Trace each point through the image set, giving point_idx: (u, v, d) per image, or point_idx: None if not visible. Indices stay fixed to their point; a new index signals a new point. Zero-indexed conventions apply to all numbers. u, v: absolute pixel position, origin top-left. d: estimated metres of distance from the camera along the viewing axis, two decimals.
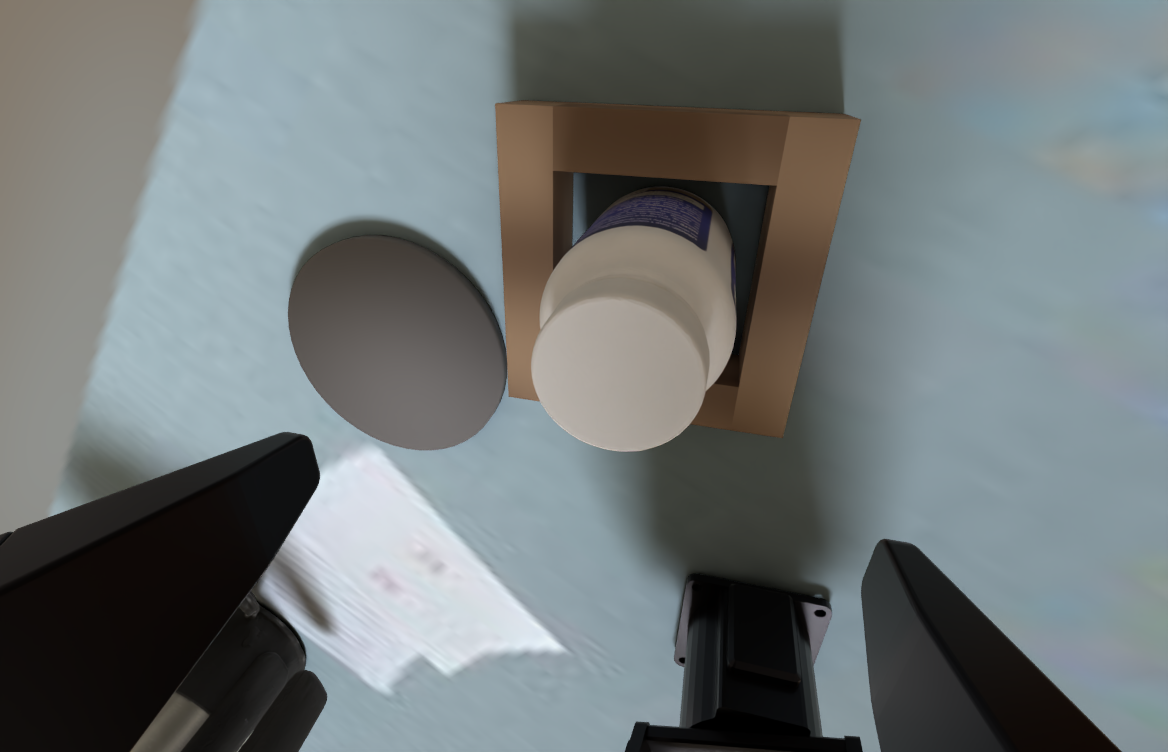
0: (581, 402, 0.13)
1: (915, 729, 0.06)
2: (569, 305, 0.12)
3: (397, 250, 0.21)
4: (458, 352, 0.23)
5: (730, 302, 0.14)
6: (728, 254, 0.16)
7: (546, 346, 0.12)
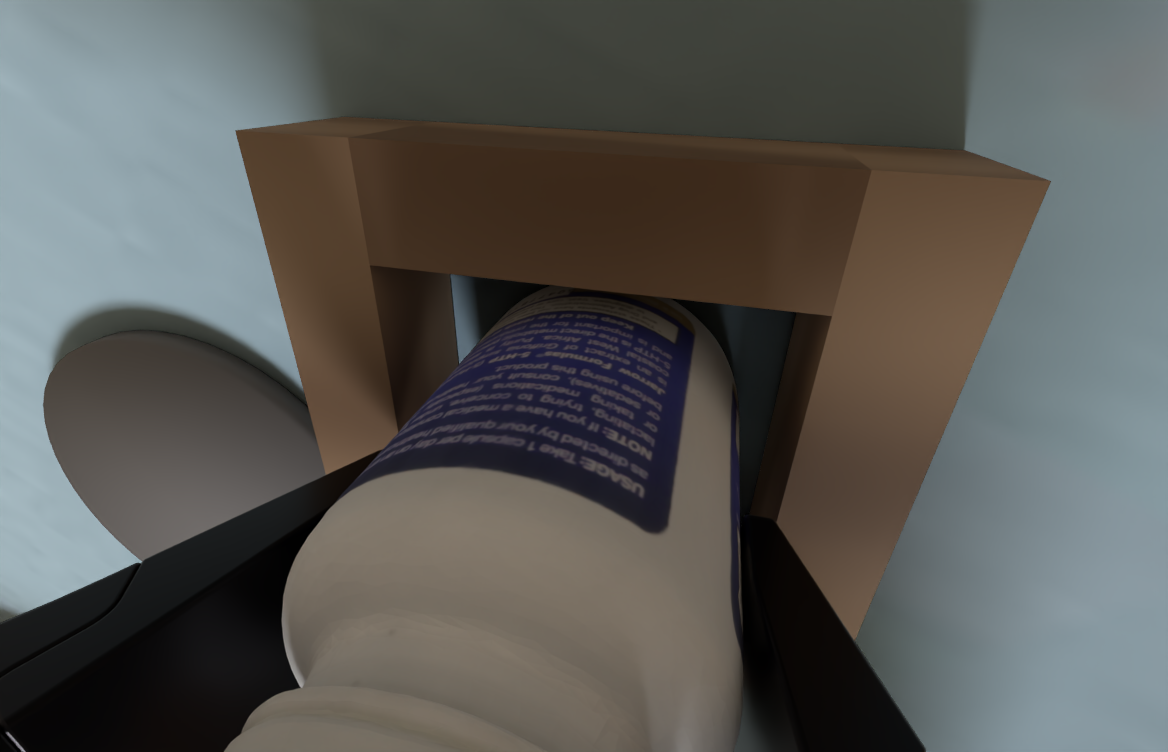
0: None
1: (745, 689, 0.06)
2: None
3: (179, 361, 0.13)
4: None
5: (729, 672, 0.05)
6: (725, 445, 0.08)
7: None
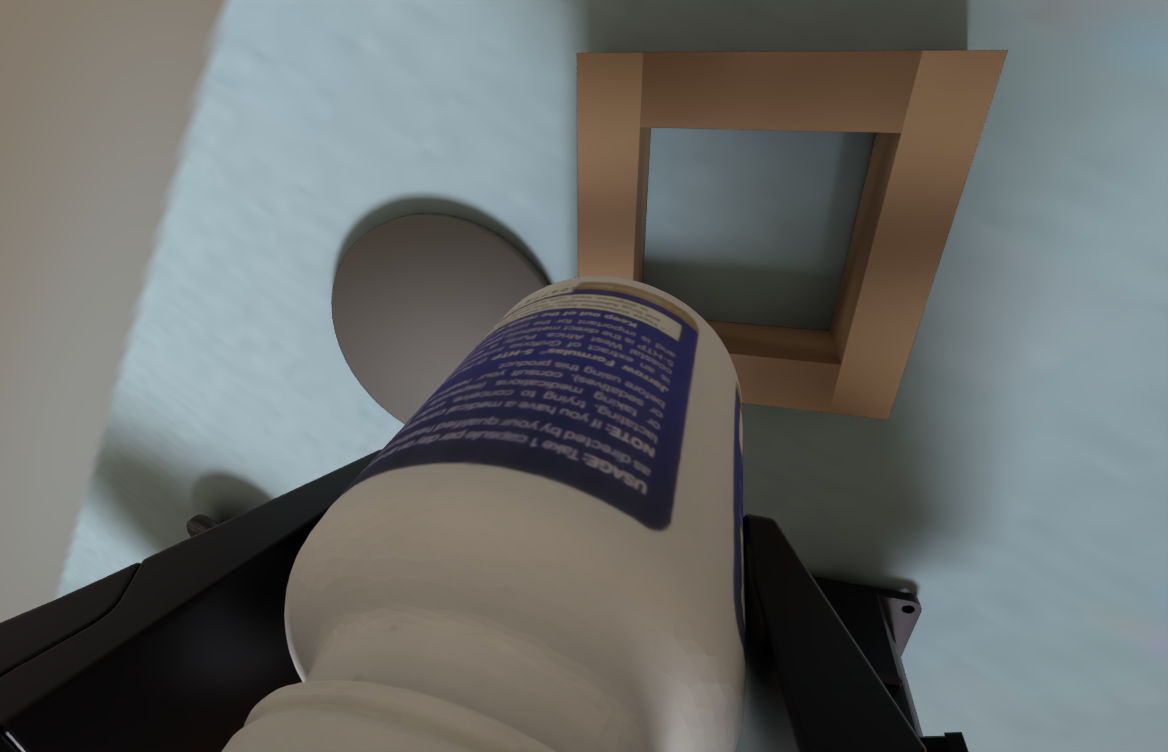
0: None
1: None
2: None
3: (453, 228, 0.20)
4: None
5: (731, 670, 0.05)
6: (728, 443, 0.08)
7: None
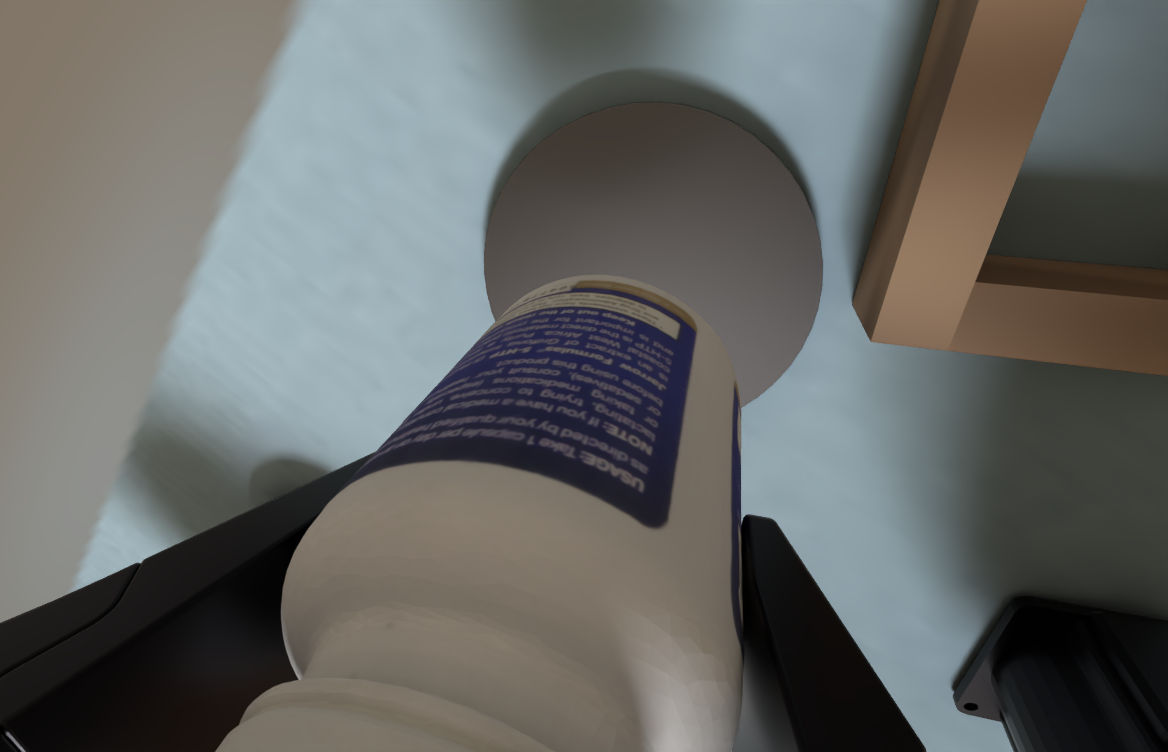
0: None
1: (745, 689, 0.06)
2: None
3: (693, 120, 0.14)
4: (753, 283, 0.16)
5: (728, 668, 0.05)
6: (726, 441, 0.08)
7: None
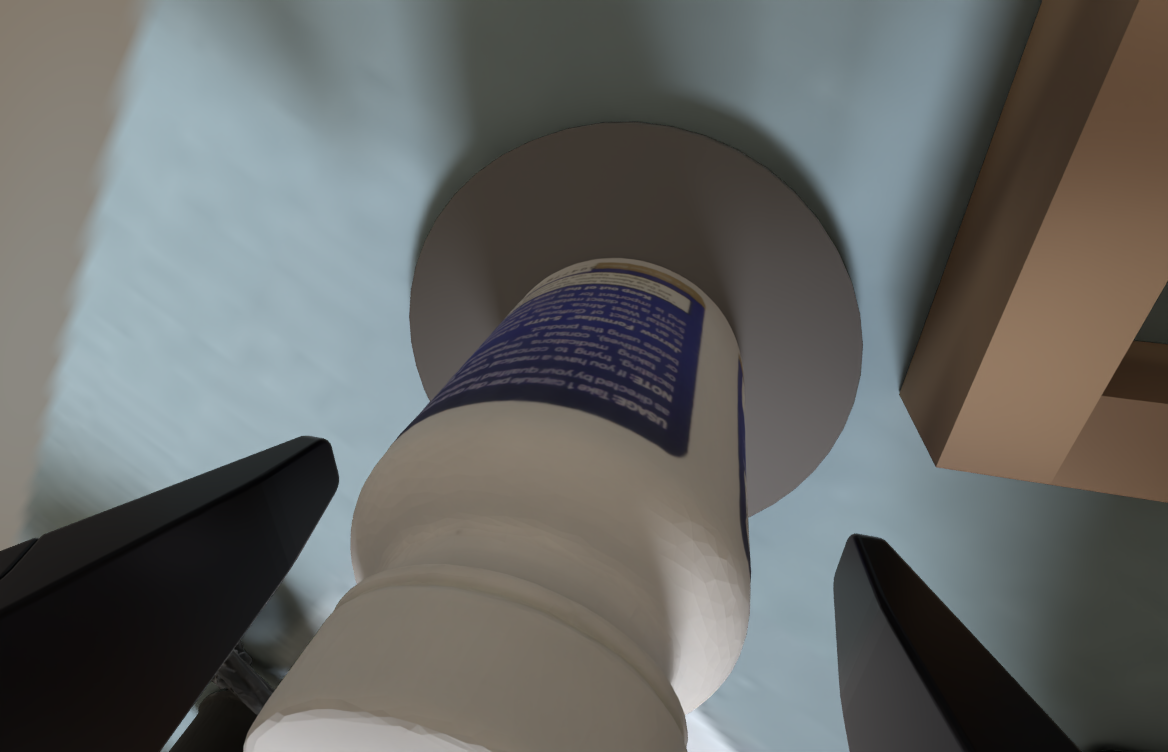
0: None
1: (878, 720, 0.06)
2: (294, 709, 0.04)
3: (683, 148, 0.10)
4: (765, 367, 0.11)
5: (739, 575, 0.06)
6: (733, 402, 0.09)
7: None
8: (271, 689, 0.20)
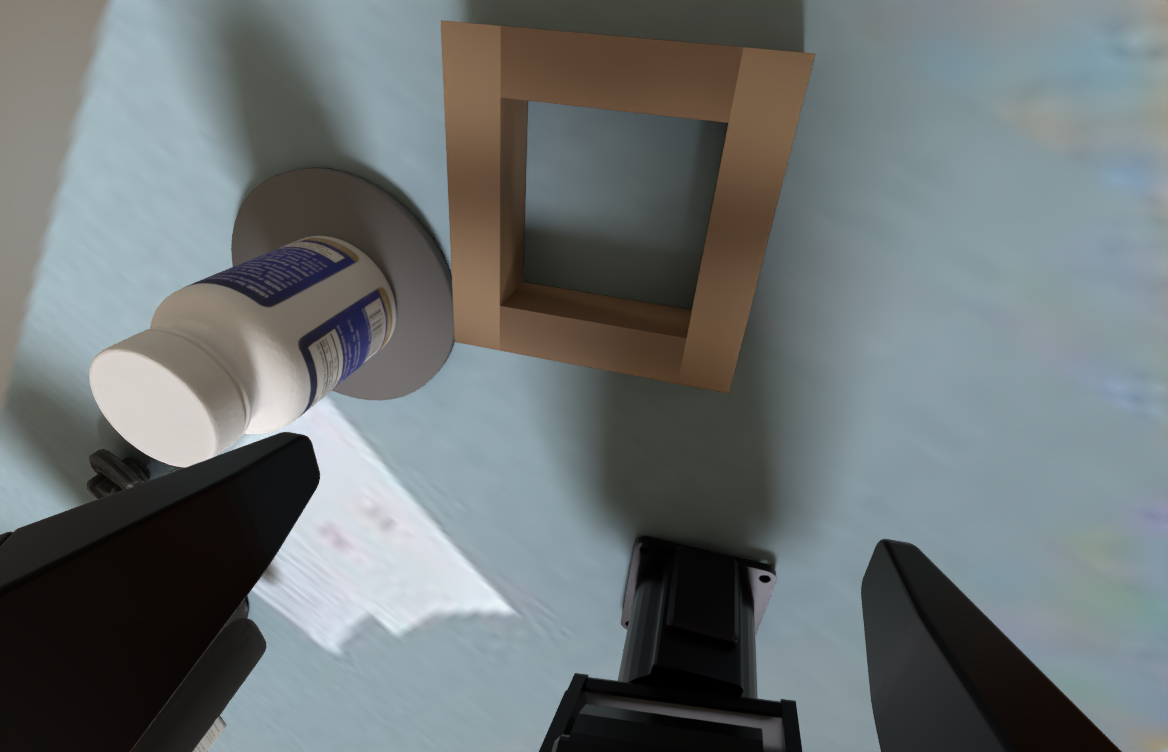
0: (136, 426, 0.16)
1: (915, 729, 0.06)
2: (99, 353, 0.15)
3: (345, 184, 0.20)
4: (407, 297, 0.22)
5: (285, 350, 0.17)
6: (344, 302, 0.19)
7: (96, 382, 0.15)
8: None
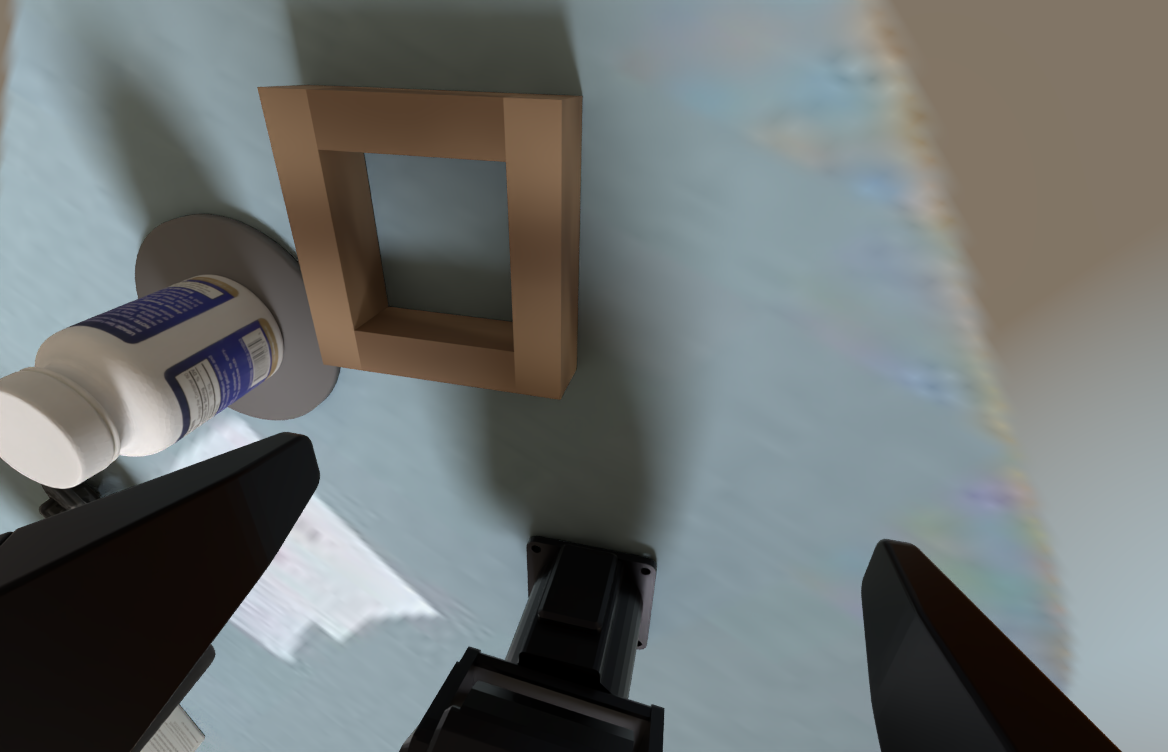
0: (17, 454, 0.18)
1: (915, 729, 0.06)
2: None
3: (220, 227, 0.23)
4: (290, 325, 0.24)
5: (149, 381, 0.19)
6: (219, 334, 0.22)
7: None
8: None
